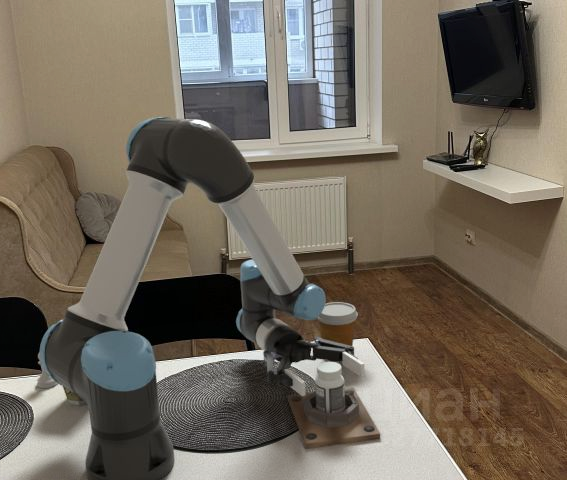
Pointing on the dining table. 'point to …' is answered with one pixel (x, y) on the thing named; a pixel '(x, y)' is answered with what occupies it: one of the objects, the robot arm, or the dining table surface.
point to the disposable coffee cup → (338, 323)
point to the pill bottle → (330, 388)
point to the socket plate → (332, 421)
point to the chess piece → (45, 378)
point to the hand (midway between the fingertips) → (334, 379)
